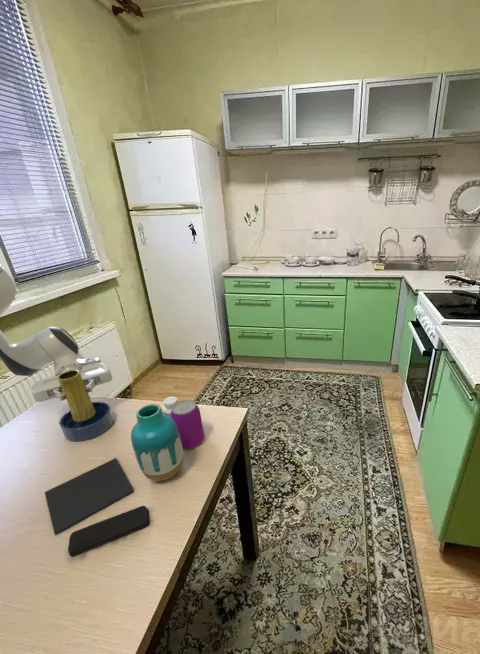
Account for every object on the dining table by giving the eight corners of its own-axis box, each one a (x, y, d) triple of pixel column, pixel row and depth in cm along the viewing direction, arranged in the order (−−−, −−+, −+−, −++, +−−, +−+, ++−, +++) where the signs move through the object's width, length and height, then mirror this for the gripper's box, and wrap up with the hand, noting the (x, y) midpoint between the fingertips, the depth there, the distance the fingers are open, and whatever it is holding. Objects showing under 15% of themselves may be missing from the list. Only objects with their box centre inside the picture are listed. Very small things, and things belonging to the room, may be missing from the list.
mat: (55, 535, 67) (54, 533, 67) (45, 493, 77) (44, 492, 76) (134, 491, 77) (133, 490, 76) (116, 459, 86) (116, 457, 86)
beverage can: (194, 453, 87) (186, 418, 82) (171, 446, 90) (162, 411, 84) (210, 435, 94) (204, 401, 88) (188, 429, 96) (181, 395, 91)
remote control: (148, 509, 73) (70, 537, 67) (147, 503, 72) (68, 531, 66) (150, 527, 69) (68, 558, 63) (149, 521, 68) (65, 552, 62)
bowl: (69, 448, 90) (64, 436, 88) (61, 426, 99) (55, 414, 97) (119, 427, 98) (115, 415, 96) (107, 408, 107) (103, 396, 105)
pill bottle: (172, 417, 101) (166, 394, 97) (187, 418, 100) (182, 395, 96) (163, 429, 96) (157, 404, 92) (180, 430, 96) (174, 405, 92)
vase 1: (71, 424, 93) (53, 382, 86) (74, 412, 98) (58, 371, 91) (95, 418, 95) (79, 377, 88) (96, 407, 100) (82, 367, 93)
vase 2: (136, 470, 82) (116, 409, 74) (176, 450, 88) (162, 391, 80) (152, 496, 75) (132, 432, 66) (194, 472, 81) (180, 411, 73)
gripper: (28, 375, 95) (27, 397, 85) (104, 356, 106) (112, 373, 96) (35, 393, 98) (36, 416, 88) (109, 372, 109) (117, 391, 99)
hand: (76, 393), depth 92 cm, fingers closed on vase 1, 5 cm apart
